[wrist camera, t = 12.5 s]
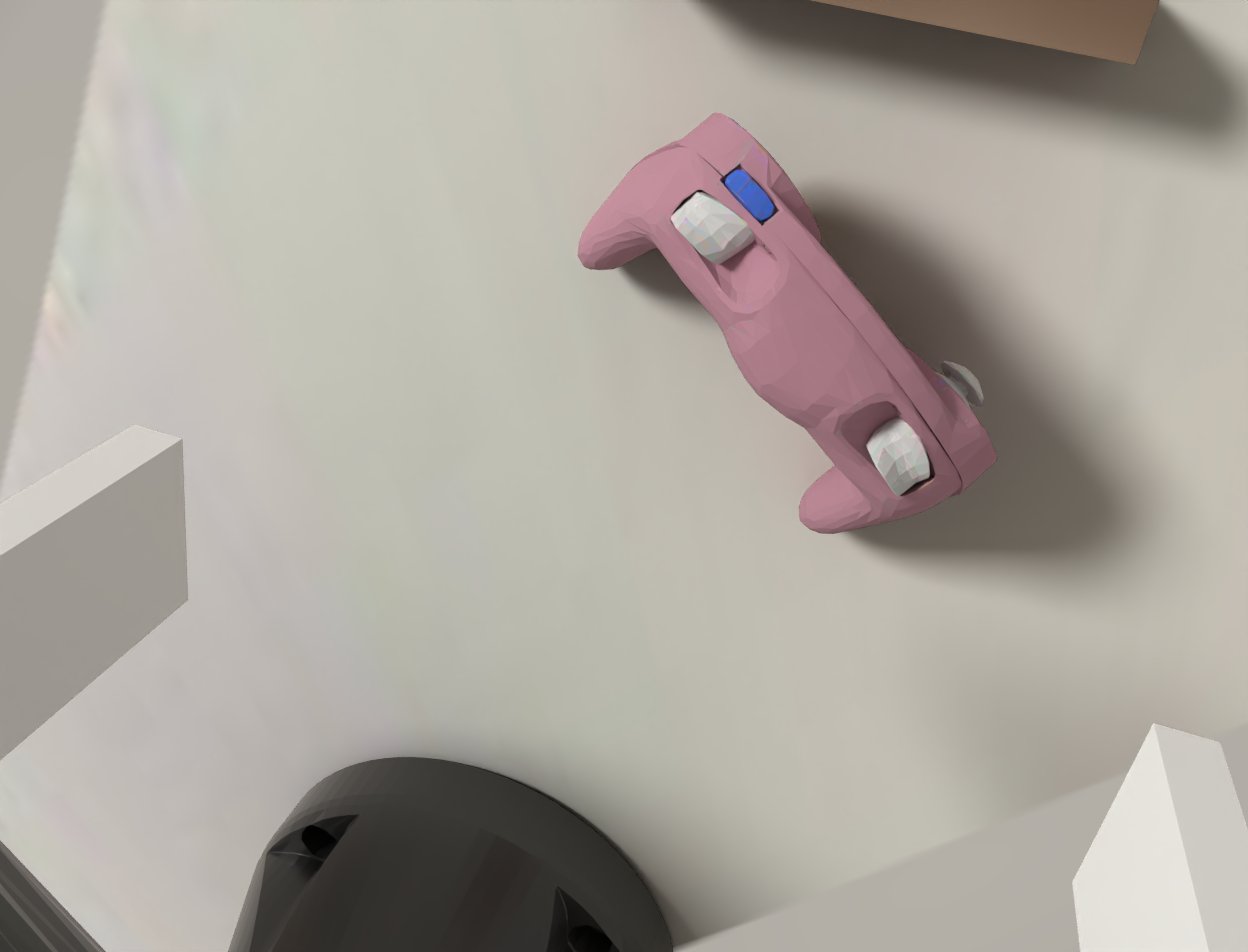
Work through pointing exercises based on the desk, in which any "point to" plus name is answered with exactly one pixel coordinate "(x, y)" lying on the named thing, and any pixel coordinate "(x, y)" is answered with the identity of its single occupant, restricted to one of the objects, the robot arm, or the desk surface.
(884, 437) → the video game controller
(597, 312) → the desk surface
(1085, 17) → the dock
